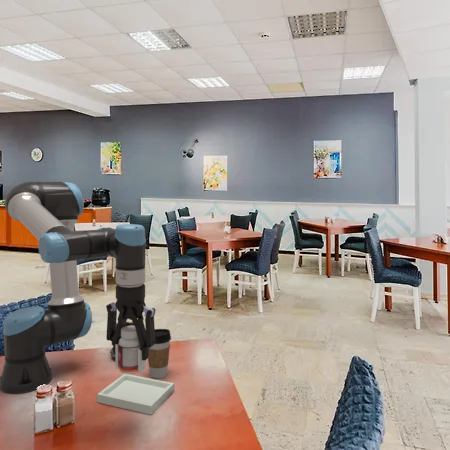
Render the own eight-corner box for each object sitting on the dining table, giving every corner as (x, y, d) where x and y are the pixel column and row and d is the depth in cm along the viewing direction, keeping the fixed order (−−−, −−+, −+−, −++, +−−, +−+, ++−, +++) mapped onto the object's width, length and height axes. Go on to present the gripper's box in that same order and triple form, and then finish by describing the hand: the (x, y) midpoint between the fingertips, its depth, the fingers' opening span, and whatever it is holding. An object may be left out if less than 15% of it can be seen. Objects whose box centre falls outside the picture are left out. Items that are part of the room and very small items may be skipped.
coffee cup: (166, 381, 131) (165, 337, 129) (141, 378, 133) (141, 334, 131) (174, 370, 139) (174, 328, 138) (151, 367, 141) (151, 326, 139)
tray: (97, 402, 118) (97, 394, 118) (124, 380, 131) (124, 373, 131) (151, 414, 112) (151, 406, 112) (174, 390, 125) (174, 383, 125)
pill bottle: (120, 364, 110) (120, 324, 109) (143, 364, 110) (143, 324, 109) (117, 375, 104) (116, 333, 102) (141, 374, 104) (141, 332, 103)
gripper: (90, 283, 104) (91, 368, 107) (155, 291, 98) (155, 381, 100) (108, 277, 111) (108, 356, 114) (170, 284, 105) (169, 368, 107)
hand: (130, 368), depth 107 cm, fingers closed on pill bottle, 6 cm apart
